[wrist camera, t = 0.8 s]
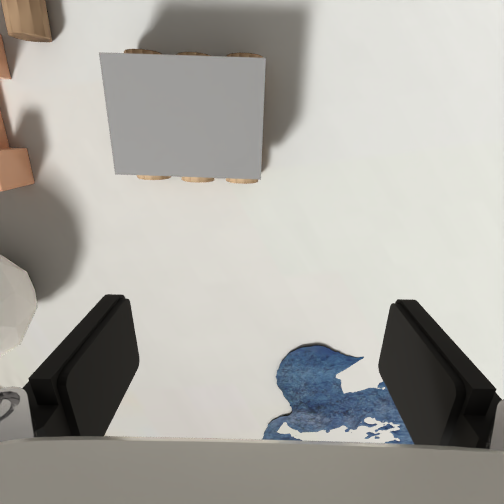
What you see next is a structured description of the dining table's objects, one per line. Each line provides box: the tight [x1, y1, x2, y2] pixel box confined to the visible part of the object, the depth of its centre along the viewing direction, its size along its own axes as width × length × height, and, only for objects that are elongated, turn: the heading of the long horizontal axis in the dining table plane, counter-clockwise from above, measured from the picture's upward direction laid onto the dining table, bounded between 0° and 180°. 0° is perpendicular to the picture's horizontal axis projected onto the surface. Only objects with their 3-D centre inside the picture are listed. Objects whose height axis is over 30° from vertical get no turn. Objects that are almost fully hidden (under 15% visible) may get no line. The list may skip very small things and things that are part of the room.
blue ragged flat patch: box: [262, 346, 414, 444], centre depth 50 cm, size 27×29×1 cm
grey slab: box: [99, 53, 266, 180], centre depth 29 cm, size 10×14×4 cm
